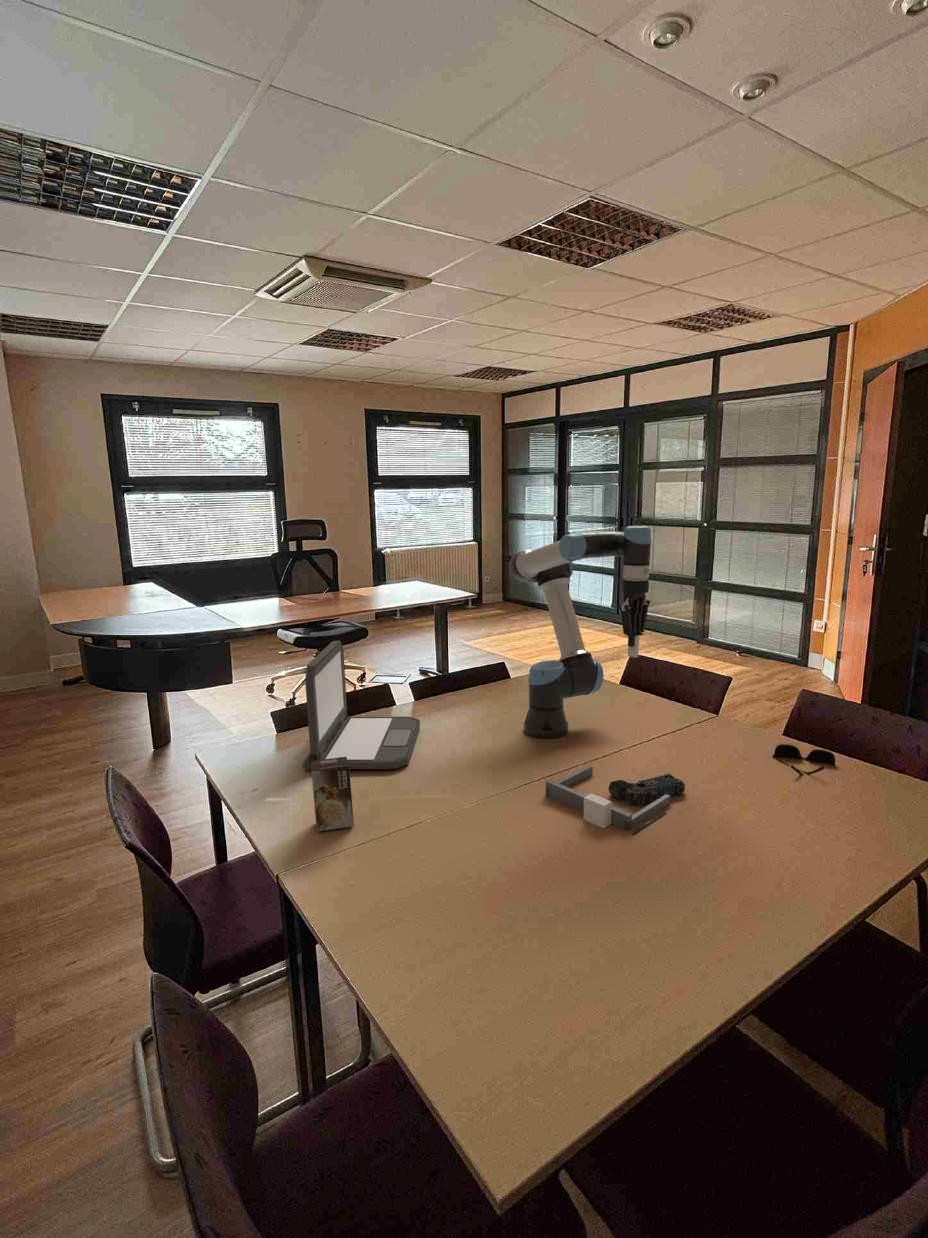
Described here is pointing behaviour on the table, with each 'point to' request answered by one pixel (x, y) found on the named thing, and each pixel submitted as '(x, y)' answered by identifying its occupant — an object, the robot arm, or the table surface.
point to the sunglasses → (814, 756)
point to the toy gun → (646, 789)
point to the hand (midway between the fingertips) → (632, 656)
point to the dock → (601, 804)
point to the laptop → (351, 721)
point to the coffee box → (332, 793)
